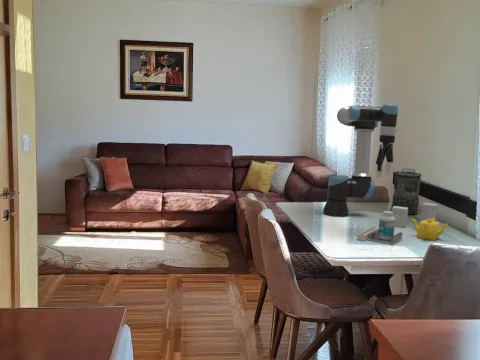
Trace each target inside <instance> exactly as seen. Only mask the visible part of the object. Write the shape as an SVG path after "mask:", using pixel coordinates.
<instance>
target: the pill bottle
mask: <svg viewBox="0 0 480 360" xmlns="http://www.w3.org/2000/svg"><path fill="white" fill-rule="evenodd" d="M392 215H393V212H392V210H383V212H382V215H380V217H379V221H378V222H379V223H378V228H379V230H378V238H380V239H383V240H391V238H392V237H393V236H395V227H396V226H395V218H394V217H393V216H392Z"/></svg>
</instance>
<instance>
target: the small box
mask: <svg viewBox="0 0 480 360" xmlns="http://www.w3.org/2000/svg"><path fill="white" fill-rule="evenodd" d="M391 212H393V215H392V216H393V217H394V218H395V227H397V228H398V227H399V228H407V225H408V224H407V223H408V215H409V214H408V208H407V207H398V206H394V207H392V206H391Z"/></svg>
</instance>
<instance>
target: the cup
mask: <svg viewBox="0 0 480 360" xmlns="http://www.w3.org/2000/svg"><path fill="white" fill-rule="evenodd" d="M437 211H438V204H436V203H433V202H432V203H431V202H422V203H421V213H420V222H421V221H422V220H427V219H433V218H435V220H434V221H435V222H437Z"/></svg>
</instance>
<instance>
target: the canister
mask: <svg viewBox="0 0 480 360" xmlns="http://www.w3.org/2000/svg"><path fill="white" fill-rule="evenodd" d="M405 170H407V171H405ZM394 174H395V177H394V182H393V189H394V191H393V194H392V201H391V202H392V203H391V204H392V205H391V208H392V207H394V206H398V207H407V208H408V215H417V214H418V213H419V212H418V210H419V202H420V201H419V200H420V199H419V195H420V191H421V184H422V183H421V182H422V179H421V177H422V174H421V173H420V172H419V173H418V172H416V170H415V169H414V168H405V167H404V168H402V170H401V171H400V170H398V171H397V170H396V172H395V173H394ZM416 213H417V214H416Z"/></svg>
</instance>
